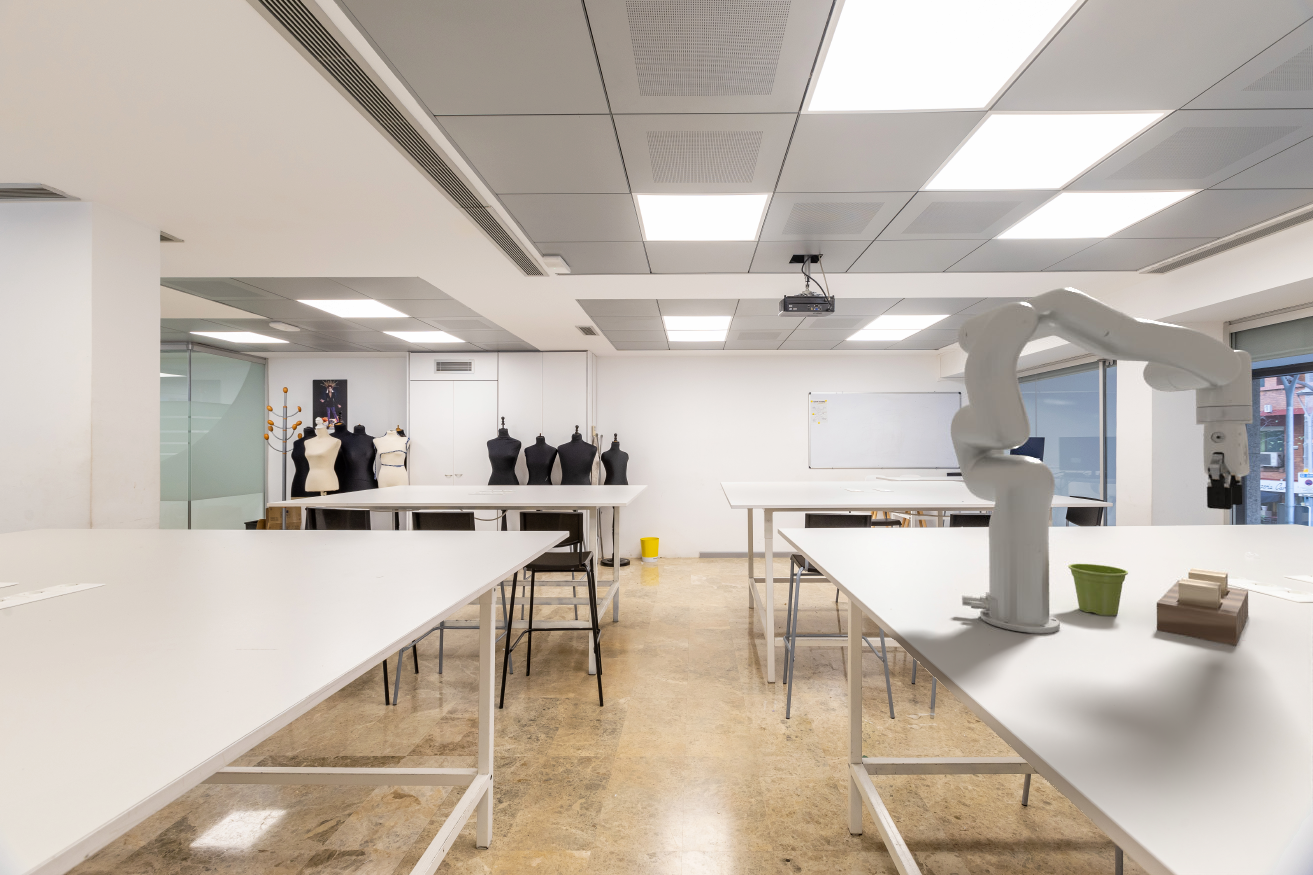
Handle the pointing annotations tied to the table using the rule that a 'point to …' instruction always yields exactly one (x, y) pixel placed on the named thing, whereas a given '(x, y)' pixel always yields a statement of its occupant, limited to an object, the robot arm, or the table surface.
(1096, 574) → the plant pot
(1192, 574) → the peg far
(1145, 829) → the table surface
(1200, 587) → the peg near
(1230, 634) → the peg board
